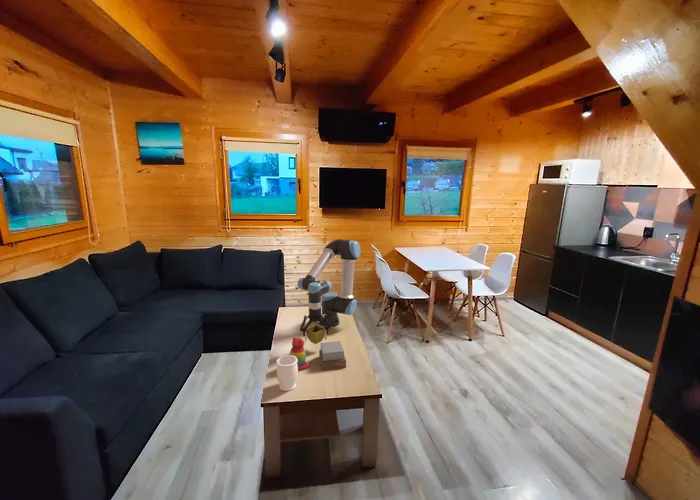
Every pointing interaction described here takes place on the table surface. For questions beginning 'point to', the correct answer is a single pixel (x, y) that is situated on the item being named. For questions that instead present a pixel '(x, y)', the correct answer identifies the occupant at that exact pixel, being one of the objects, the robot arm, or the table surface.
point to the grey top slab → (332, 351)
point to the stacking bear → (299, 353)
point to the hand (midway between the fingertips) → (315, 339)
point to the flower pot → (315, 333)
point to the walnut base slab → (332, 363)
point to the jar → (287, 372)
